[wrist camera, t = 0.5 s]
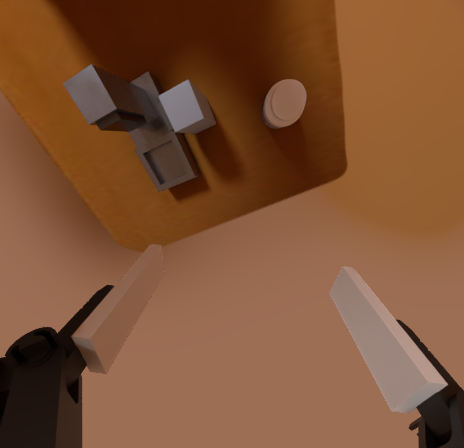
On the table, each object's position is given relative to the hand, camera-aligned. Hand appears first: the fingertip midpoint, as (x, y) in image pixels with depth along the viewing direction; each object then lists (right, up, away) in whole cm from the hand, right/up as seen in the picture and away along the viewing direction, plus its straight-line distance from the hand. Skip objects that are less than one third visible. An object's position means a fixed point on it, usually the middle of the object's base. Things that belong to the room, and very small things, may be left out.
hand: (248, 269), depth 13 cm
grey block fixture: (-14, +19, +18) cm, 30 cm away
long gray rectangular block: (-6, +22, +17) cm, 28 cm away
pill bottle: (+6, +22, +16) cm, 27 cm away
